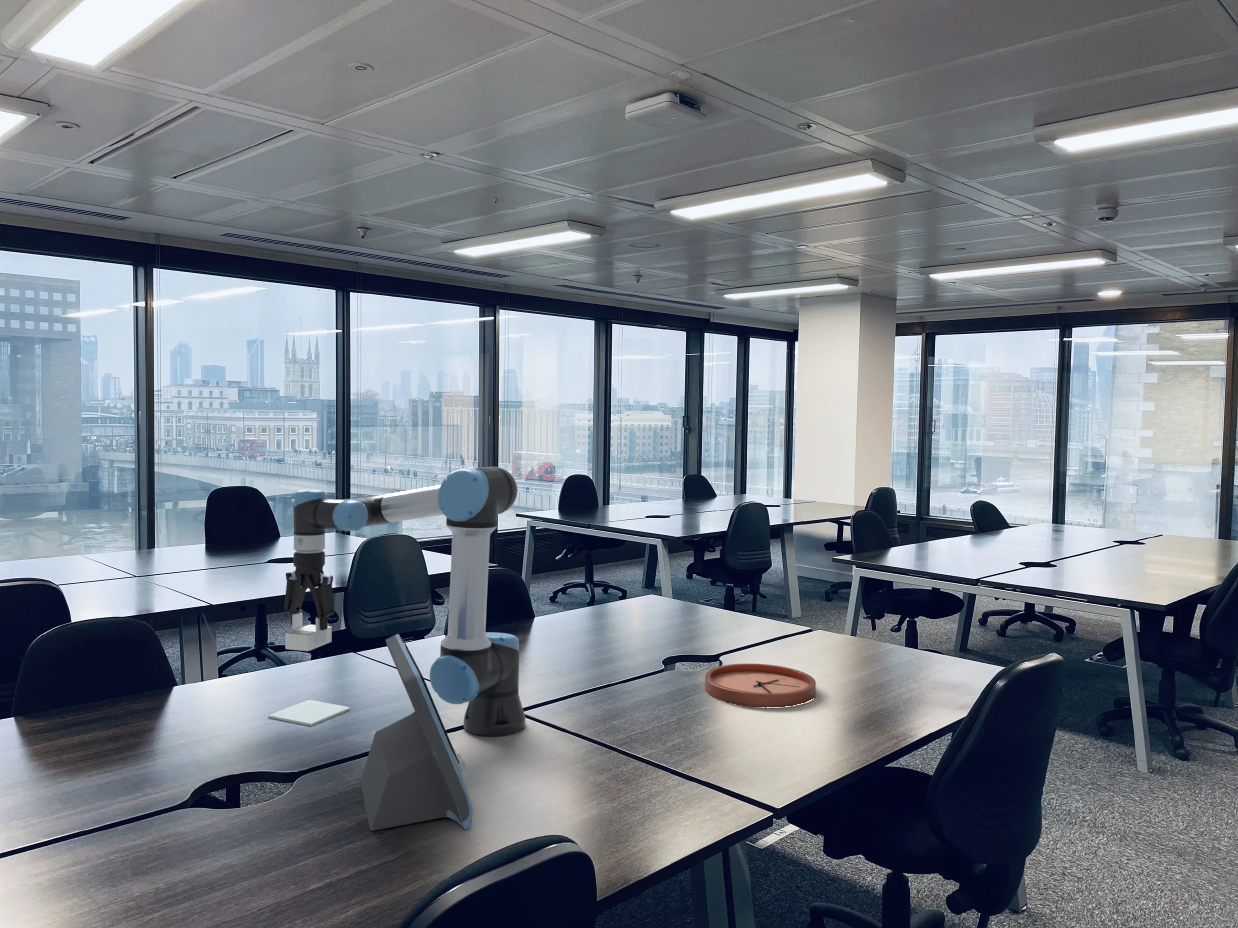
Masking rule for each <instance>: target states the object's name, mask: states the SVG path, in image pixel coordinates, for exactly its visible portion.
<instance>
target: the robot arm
mask: <svg viewBox="0 0 1238 928" xmlns="http://www.w3.org/2000/svg"><path fill="white" fill-rule="evenodd" d="M517 497H518V484H517V481H516V480H515V478H514V476H513V475H512V474H511V473H510V472H509V471H508V470H506V469H504V468H503V467H502V468H501V467H499V466H485V467H484V466H483V467H482V466H480V467H478V466H477V467H471V466H470V467H463V468H459V469H456V470H453V471H452V472H450V473H449V474H448V475H447V476H445V477H444V479H443V480H442V481H441V483H440V484H438V485H432V486H427V487H426V486H425V487H421V488H415V489H409V490H405V491H398V492H393V493H386V494H379V495H374V496H368V497H367V496H366V497H358V498H357V497H356V498H346V499H344V498H343V499H337V498H336V499H335V498H334V499H332V498H331V499H328V498H327V497H326V492H325V491H324V490H322V489H299V490H297V491H295V492H294V496H293V506H292V509H293V550H294V552H293V561H292V562H293V567H294V568H295V570H294V571H288V572H286V573H285V580H286V586H285V597H284V607H283V608H284V611H285V612H286V611H288V612H289V614H290V626H292V629H291V630H296V629H298V628H301V627H304V626H303V623H304V622H303V618H304V617H303V616H304V615H303V612H302V611H303V609H302V606H303V602H304V599H305V596H306V593H307V590H309V592H310V593H311V595H312V598H313V601H314V604H315V609H316V612H317V616H316V617H315V625H316V644H319V643H323V642H326V629H327V628H328V626H329V625H328V621H329V620H328V617H329V616H333V615H334V614H335V604H334V603H335V602H334V593H333V581H334V577H333V575H327V574H325V572H324V569H323V568H324V566H325V565H326V552H325V551H324V550H325V549H326V529H327V530H335V531H336V530H337V531H344V532H350V531H351V532H356V531H360V530H362V529H363V528H365V527H371V526H381V525H387V524H391V523H397V522H402V521H403V522H404V521H410V520H416V519H424V518H429V517H435V516H436V517H437V516H442V515H444V516H445V518H446V519H445V521H446V523H445V526H446V527H447V528H448V529H449V530H450V531H451V535H452V536H451V537H452V538H451V554H450V555H451V557H450V559H451V560H450V579H449V582H450V583H449V603H448V604H449V605H448V621H447V622H448V623H447V625H448V626H447V635H446V636H445V637H443V639H441V641H440V649H439V651H440V652H439V653H440V654H439V656H438V657H437V658H436V659H435V661H434V662H433V663H432V665H431V667H430V669H429V670H430V671H429V681H430V685H431V688H432V689H433V691H434V693H436V694H437V696H438V697H439V698H440V699H441V700H442V701H444V702H445V703H448V704H451V705H462V704H465V703H467V702H468V704H467V707H466V710H465V712H464V717H463V728H464V730H465V731H466V732H468V733H469V734H472V735H473V734H474V735H477V736H483V737H501V736H508V735H511V734H514V733H517V732H520V731H522V730H524V728H525V726H526V714H525V711H524V708H523V705H522V701H521V698H520V694H519V685H520V683H519V681H520V680H519V679H520V677H519V676H520V652H521V649H520V640H519V638H518V637H517V636H516V635H514V634H511V633H506V632H496V631H495V632H492V631H491V632H486V627H487V626H486V623H487V607H488V606H487V604H488V603H487V602H488V601H487V599H488V585H489V584H488V582H489V567H490V566H489V563H490V562H489V560H490V545H491V544H490V543H491V541H490V540H491V539H490V538H491V534H492V533H493V532H494V531H495V530H496V529H497V528H498V517H499V516H498V515H501V514H504V513H505V512H507V511H508V510H510V509H511V508H512V506H513V505H514V504H515V502H516V500H517Z"/></svg>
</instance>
